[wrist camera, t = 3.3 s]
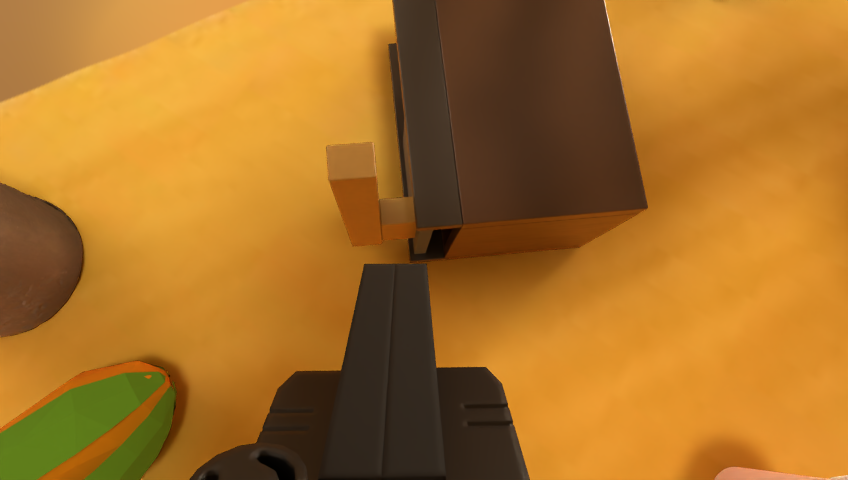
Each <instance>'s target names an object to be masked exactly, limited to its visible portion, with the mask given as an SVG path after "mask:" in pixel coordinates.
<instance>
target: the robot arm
mask: <svg viewBox="0 0 848 480" xmlns="http://www.w3.org/2000/svg"><path fill="white" fill-rule="evenodd" d="M190 480H530V479H529V475H528V472H527V468H526V465H525V462H524V458H523V455H522V451H521V448H520V444H519V441H518V437H517V434H516V431H515V427H514V426H513V420H512V417H511V413H510V410H509V408H508V403H507V400H506V396H505V393H504V389H503V386H502V383H501V382H500V381H499V380H498V379H497V378H496V377H495V376H494V375H493V374H492V373H491V372H490V371H489V370H488V369H487V368H486V367H454V368H436V361H435V350H434V339H433V328H432V317H431V306H430V295H429V284H428V273H427V264H364V268H363V273H362V277H361V282H360V286H359V291H358V296H357V300H356V305H355V310H354V314H353V319H352V323H351V328H350V333H349V337H348V342H347V346H346V351H345V356H344V360H343V365H342V369H341V371H296V372H295V373H294V374H293V375H292V376H291V377H290V378H289V379H288V380H286V381H285V382H284V383H283V384H282V385H281V386H280V387H279V388H278V390H277V392H276V395H275V397H274V400H273V402H272V405H271V407H270V413H268V415H267V417H266V420H265V422H264V425H263V430H262V432H260V435H259V437H258V440H257V442H256V443H255V444H248V445H241V446H238V447H235V448H233V449H230V450H228V451H226V452H223V453H221V454H218V455H216V456H215V457H214V458H212V459H211V460H209V461H208V462H207V463H205V464H204V465H203V466H201V467H200V468H199V469H197V471H196V472H195V473H194V474H193V476H192V477H191V478H190Z"/></svg>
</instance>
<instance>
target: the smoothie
mask: <svg viewBox="0 0 848 480" xmlns="http://www.w3.org/2000/svg"><path fill="white" fill-rule="evenodd" d="M714 480H848V475H845V476H838V477H831V478H829V479H826V478H817V477H810V476H802V475H795V474H787V473H780V472H772V471H765V470H757V469H750V468H742V467H729V468H726V469H724V470H722V471H721V472H720V473H719V474H718V475H717V476H716V477H715V479H714Z"/></svg>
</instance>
